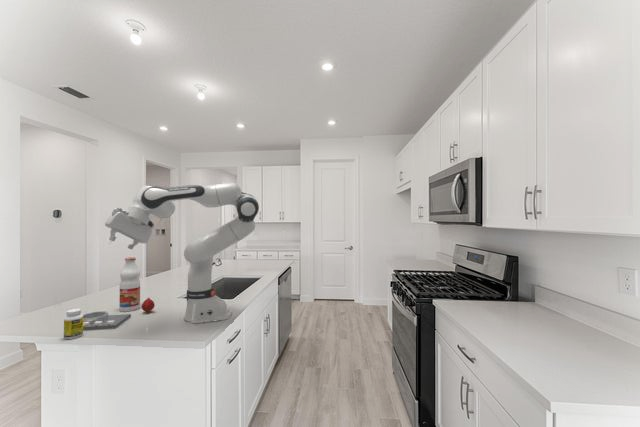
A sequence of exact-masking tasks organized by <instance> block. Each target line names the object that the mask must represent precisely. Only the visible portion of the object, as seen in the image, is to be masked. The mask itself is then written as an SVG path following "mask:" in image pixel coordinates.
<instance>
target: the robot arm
mask: <svg viewBox="0 0 640 427" xmlns="http://www.w3.org/2000/svg"><path fill="white" fill-rule="evenodd" d="M181 200H190V201H195V202H196V203H198V204H200V205H202V206H203V207H205V208H218V207H223V206H231V205H232V206H234V207H235V208H236V212H237V216H236V217H235V218H234V219H232V220H231V221H228V222H226V223H225V224H223V225H222V226H219V227H218V228H216V229H214V230H212V231H210V232H208V233H207V234H204V235H202V236H201V237H199V238H196V239H195V240H193V241H191V242H189V243H188V244H187V246H186V247H185V249H184V251H183V256H184V259H185V260H186V261H187V262H188V263H190V264H189V268H188V273H187V290H186V294H185V295H186V297H185V298H186V308H185V313H184V317H183V320H184V321H186V322H190V323H191V324H194V325H196V323H197V324H204V323H203V322H205V323H209V322H208V321H213V322H215V321H214V320H221V321H226V320H228V319H230V318H231V316H232V311H231V309H228V305H227V303H226V300H224V299H222V298H220V297H219V296H217V295H216V293H217V291H216V288H213V287H212V274H213V273H212V272H213V271H212V270H213V265H214V256H215V255H217V254H219V253H222V252H223V251H225V250H226V249H227V248H229V247H231V246H233V245H234V244H237V243H238V242H240V241H241V240H244V239H245V238H246V237H247V236H249V235H251V234H252V233H253V232H254V230H255V229H256V222H255V221H254V219H255V218H256V216H257V215H258V213H259V209H260V206H259V202H258V200H257V198H255V196H253V195H252V194H249V193H246V192H243V191H242V190H241V187H240V186H239V184H238V183H235V182H225V183H224V182H223V183H222V182H221V183H216V184H208V185H198V184H191V185H189V184H188V185H178V186H170V187H169V186H168V187H166V186H165V187H163V186H157V185H156V186H153V185H144V186H143V187H141V188H140V189H139V190H138V191H137V193H136V194H135V197H133V200H132V202H131V205H130V206H129V207H128V209H127V210H123V208H120V207H116V208H114V209H113V210H112V212H111V214H110V215H109V216H108V218H107V219H106V220H105V222H104V225H105V227H107V228H109V229H110V231H109V232H110V235H109V236H110V237H109V239H108V240H109V241H111V242H115V241H116V239H117V237H116V234H117V233H119V234H121V235H122V236H123V235H124V236H125V237H128V238H129V239H132V240H133V241H132V244H128V246H127V249H129V250H133V249H134V247H136V246H137V245H138V244H147V243H148V242H149V240H150V239H151V236H152V234H153V229H154V228H155V226H156V225H155V224H154V222H153V221H152V220H151V218H150V217H149V216H150V215H151V214H152V215H154V216H155V217H158V218H161V219H166V218H169V217H171V216H172V215H173V214H174V213H175V210H176V205H175V204H174V201H181Z"/></svg>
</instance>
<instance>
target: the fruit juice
mask: <svg viewBox="0 0 640 427" xmlns="http://www.w3.org/2000/svg"><path fill="white" fill-rule="evenodd" d="M136 260H137V258H136V257H130V256H129V257H126V258H124V262H125V264H124V266H123V269H122V270H121V271H120V272H119V273H120V274H119V278H120V282H119V311H120V312H124V313H125V312H132V311H136V310H139V309H140V308H141V280H140V276H141V272H140V270H139V268H138V266H137V264H136Z"/></svg>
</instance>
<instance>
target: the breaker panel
mask: <svg viewBox="0 0 640 427" xmlns="http://www.w3.org/2000/svg"><path fill="white" fill-rule="evenodd" d="M131 317H132V314H131V313H126V314H124V313H123V314H108V319H106V320H105V321H103V322H102V321H96V322H95V323H94V324H90V322H84V323H83V331H94V330H95V331H96V330H98V331H99V330H111V329H112V330H113V329H115V330H116V329H117V328H119V327H120V326H121V325H123V324H124V323H125V322H126V321H128V320H129V319H130V318H131Z"/></svg>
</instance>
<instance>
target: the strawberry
mask: <svg viewBox="0 0 640 427" xmlns="http://www.w3.org/2000/svg"><path fill="white" fill-rule="evenodd" d="M154 308H155V301H154V300H152V299H151V298H150V297H147V298H146V299H145V300H144V301H142V304H141V309H142V311H143V312H145V313H147V314H149V313H150V312H151V311H153V309H154Z"/></svg>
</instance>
